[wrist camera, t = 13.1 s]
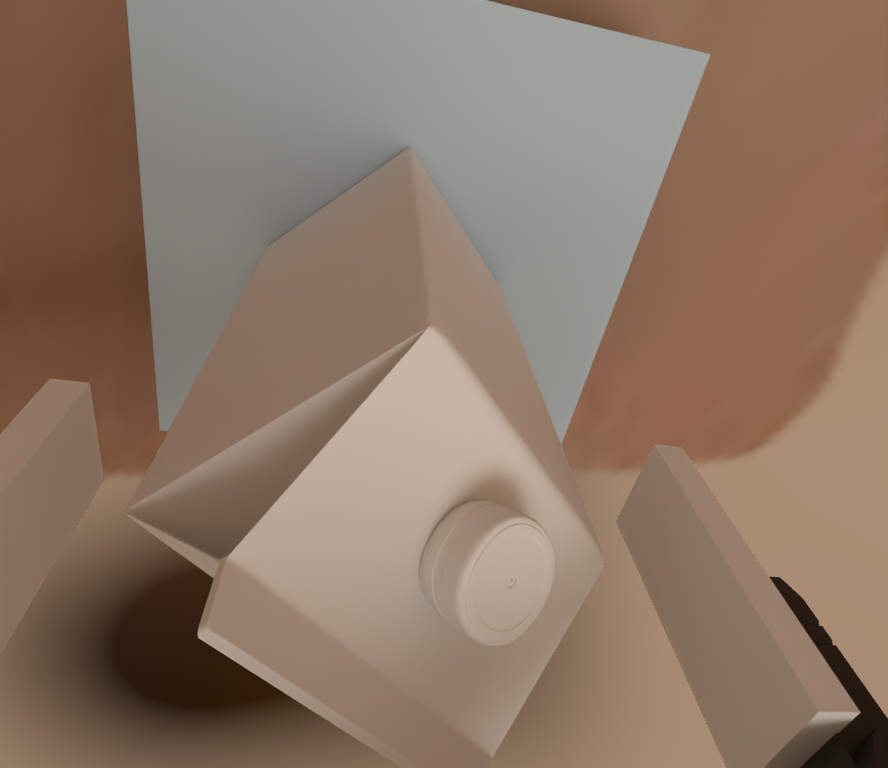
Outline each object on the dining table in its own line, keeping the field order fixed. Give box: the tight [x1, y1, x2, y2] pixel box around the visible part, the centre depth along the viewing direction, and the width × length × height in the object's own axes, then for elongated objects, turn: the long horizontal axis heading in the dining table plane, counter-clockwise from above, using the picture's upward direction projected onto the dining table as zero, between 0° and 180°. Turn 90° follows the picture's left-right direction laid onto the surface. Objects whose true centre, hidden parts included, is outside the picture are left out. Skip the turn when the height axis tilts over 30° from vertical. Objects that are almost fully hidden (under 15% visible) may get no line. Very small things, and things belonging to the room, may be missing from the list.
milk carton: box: [124, 148, 604, 768], centre depth 16 cm, size 7×7×19 cm
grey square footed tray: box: [126, 0, 711, 444], centre depth 27 cm, size 20×20×7 cm
